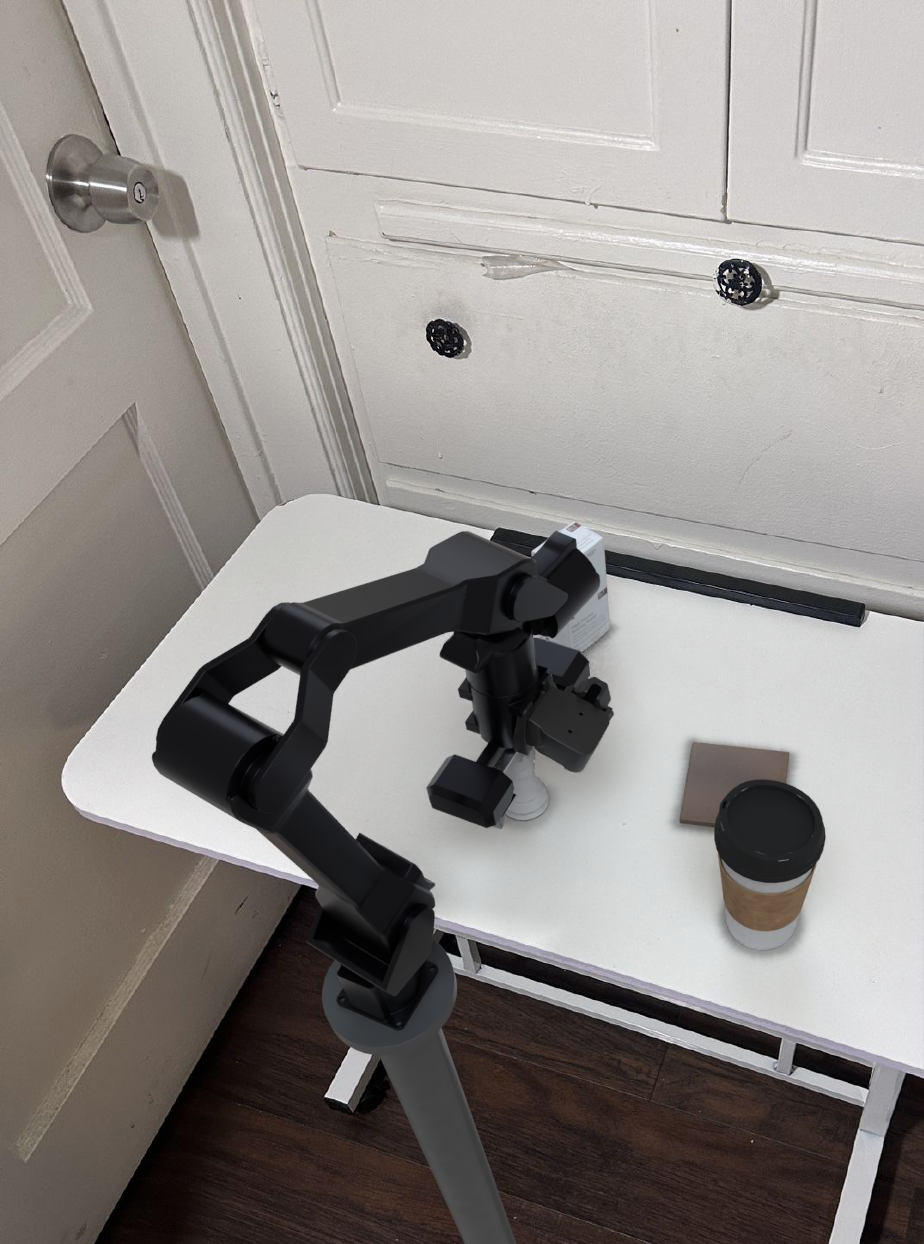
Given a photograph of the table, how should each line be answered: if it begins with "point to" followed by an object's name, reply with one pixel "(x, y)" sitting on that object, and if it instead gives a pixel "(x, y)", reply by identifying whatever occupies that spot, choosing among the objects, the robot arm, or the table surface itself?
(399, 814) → the table surface
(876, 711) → the table surface
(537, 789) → the rook chess piece
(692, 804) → the walnut coaster
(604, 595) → the cosmetic box
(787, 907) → the coffee cup
